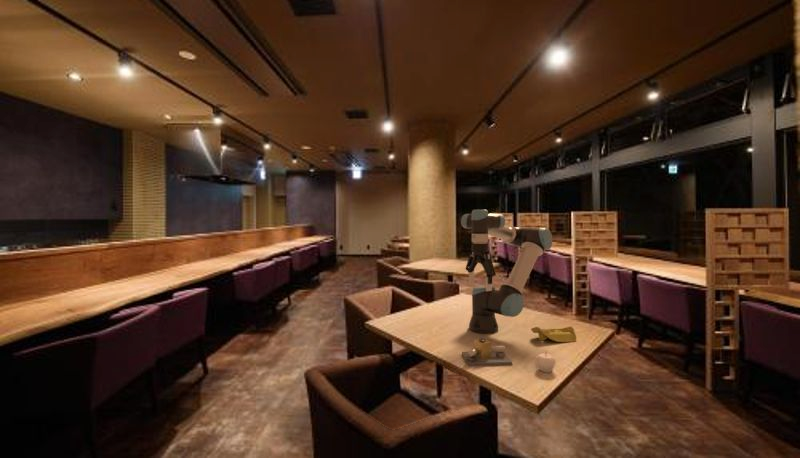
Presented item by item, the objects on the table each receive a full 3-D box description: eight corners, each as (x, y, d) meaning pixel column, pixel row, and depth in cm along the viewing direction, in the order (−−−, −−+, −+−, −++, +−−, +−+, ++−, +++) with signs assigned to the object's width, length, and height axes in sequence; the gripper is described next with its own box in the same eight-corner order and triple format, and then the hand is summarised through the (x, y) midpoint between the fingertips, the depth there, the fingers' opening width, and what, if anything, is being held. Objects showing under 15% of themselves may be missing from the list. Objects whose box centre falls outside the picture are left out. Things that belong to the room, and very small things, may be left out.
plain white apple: (558, 374, 139) (559, 353, 138) (540, 374, 138) (541, 354, 138) (549, 366, 146) (550, 346, 145) (532, 367, 145) (532, 347, 145)
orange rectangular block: (483, 353, 157) (483, 337, 156) (490, 357, 152) (490, 340, 152) (474, 354, 155) (474, 338, 155) (481, 359, 150) (481, 342, 150)
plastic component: (560, 329, 186) (574, 325, 177) (564, 344, 183) (577, 341, 174) (527, 329, 181) (539, 326, 172) (530, 345, 178) (542, 342, 169)
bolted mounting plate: (502, 353, 159) (502, 341, 159) (512, 364, 147) (512, 351, 147) (461, 354, 158) (461, 342, 158) (468, 366, 146) (468, 353, 146)
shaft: (473, 356, 153) (473, 347, 153) (480, 359, 150) (480, 349, 150) (465, 359, 150) (465, 350, 150) (472, 362, 147) (472, 352, 147)
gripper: (458, 241, 179) (458, 284, 180) (489, 245, 156) (489, 294, 157) (471, 240, 182) (471, 282, 183) (503, 244, 159) (503, 292, 160)
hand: (479, 288), depth 170 cm, fingers open, 13 cm apart
